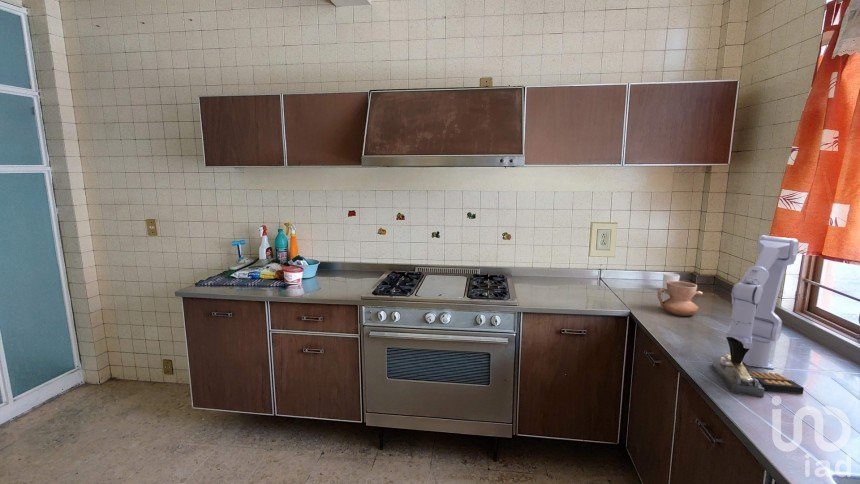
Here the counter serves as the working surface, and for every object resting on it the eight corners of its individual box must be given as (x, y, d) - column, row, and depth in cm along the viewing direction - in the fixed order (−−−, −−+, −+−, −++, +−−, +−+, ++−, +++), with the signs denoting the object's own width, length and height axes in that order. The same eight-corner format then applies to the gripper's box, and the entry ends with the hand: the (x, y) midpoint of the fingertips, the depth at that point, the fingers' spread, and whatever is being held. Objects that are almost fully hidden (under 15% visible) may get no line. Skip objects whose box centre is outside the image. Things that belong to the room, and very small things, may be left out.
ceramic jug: (696, 310, 201) (699, 281, 199) (703, 320, 188) (706, 289, 186) (654, 306, 208) (656, 278, 206) (657, 315, 195) (660, 285, 192)
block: (712, 364, 145) (713, 353, 144) (739, 368, 142) (741, 356, 141) (731, 392, 127) (733, 378, 126) (763, 397, 124) (765, 383, 124)
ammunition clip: (803, 393, 126) (777, 376, 138) (804, 387, 126) (778, 370, 138) (763, 389, 128) (741, 373, 140) (763, 384, 128) (742, 367, 140)
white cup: (658, 290, 235) (660, 273, 233) (669, 289, 237) (671, 272, 236) (669, 294, 228) (672, 276, 226) (681, 293, 230) (683, 275, 228)
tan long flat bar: (726, 356, 140) (726, 353, 139) (736, 358, 139) (737, 354, 138) (741, 382, 127) (742, 379, 126) (753, 384, 126) (754, 381, 125)
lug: (720, 362, 141) (720, 356, 141) (739, 365, 139) (740, 359, 139) (721, 364, 139) (722, 359, 139) (742, 367, 137) (742, 361, 137)
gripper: (719, 312, 141) (714, 350, 143) (735, 326, 128) (729, 369, 130) (744, 314, 139) (738, 353, 141) (763, 330, 125) (756, 373, 128)
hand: (735, 361), depth 135 cm, fingers closed, pressing on tan long flat bar
